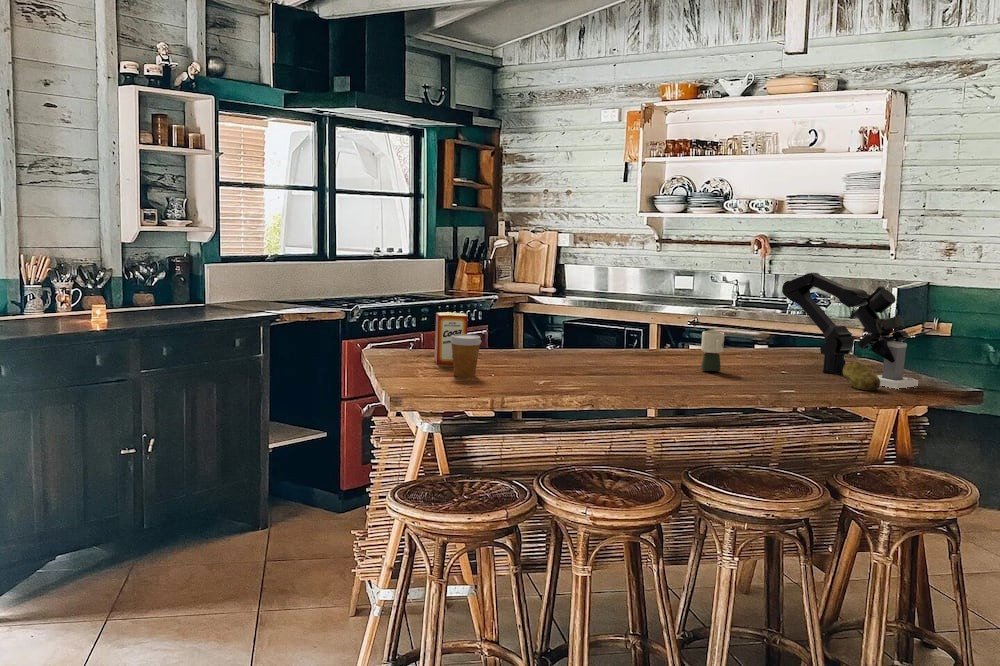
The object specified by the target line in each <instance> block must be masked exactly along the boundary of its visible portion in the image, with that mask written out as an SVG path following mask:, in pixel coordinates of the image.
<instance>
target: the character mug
mask: <svg viewBox="0 0 1000 666" xmlns="http://www.w3.org/2000/svg"><path fill="white" fill-rule="evenodd" d="M724 342H725V332H723V331H713V330H704V331H702V333H701V347H700V348H701V351H702V352H704V354H703V357H702V361H701V367H700V369H701V371H709V372H711V373H714V372H721V371H722V370H721V357H720V353H723V352H724V344H725V343H724Z"/></svg>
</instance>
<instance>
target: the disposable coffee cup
mask: <svg viewBox="0 0 1000 666" xmlns="http://www.w3.org/2000/svg"><path fill="white" fill-rule="evenodd" d="M450 341H451V344H452V355H453V364H452V365H453V376H455V377H458V378H472V377H475V375H476V370H477V365H478V364H477V363H478V358H479V351H480V348H481V347H480V345H481V344H482V340H481V336H480V335H478V334H468V333H467V334H456V335H452V337H451V339H450Z"/></svg>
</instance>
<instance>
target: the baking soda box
mask: <svg viewBox="0 0 1000 666" xmlns="http://www.w3.org/2000/svg"><path fill="white" fill-rule="evenodd" d="M468 317H469V316H468V315H467V314H466V313H465V312H451V311H447V312H445V311H444V312H435V332H434V333H435V335H434V361H435V363H436V364H437V365H438V364H439V365H440V364H441V365H450V364H451V365H453V355H452V344H451V341H450V339H451V337H452V335H456V334H468V319H469V318H468Z"/></svg>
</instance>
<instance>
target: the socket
mask: <svg viewBox="0 0 1000 666" xmlns="http://www.w3.org/2000/svg"><path fill="white" fill-rule="evenodd" d="M876 375H877V377H878V378H879V379H880V386H879V387H882V386H885V387H884V388H887V387H889V388H888V389H891V388H895V389H894V390H896V389H898V390H900V389H899V388H906V389H908V388H907V387H914V386H918V387H919V379H915V378H913V377H905V376H903V380H896V381H895V380H890V379H885V378H882V374H876ZM914 388H915V387H914Z"/></svg>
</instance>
